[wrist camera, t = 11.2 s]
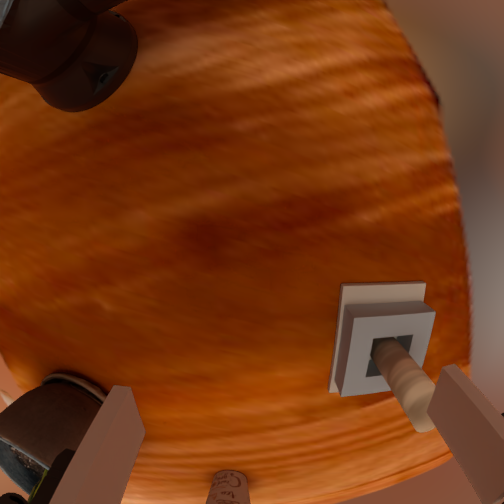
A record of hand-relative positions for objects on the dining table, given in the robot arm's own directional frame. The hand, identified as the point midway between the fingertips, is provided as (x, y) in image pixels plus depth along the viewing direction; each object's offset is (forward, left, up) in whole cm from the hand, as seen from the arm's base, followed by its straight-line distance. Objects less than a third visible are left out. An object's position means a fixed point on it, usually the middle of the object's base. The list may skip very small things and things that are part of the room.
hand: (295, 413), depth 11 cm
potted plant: (+28, -30, -25) cm, 48 cm away
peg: (+11, +15, -24) cm, 30 cm away
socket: (+11, +15, -25) cm, 31 cm away
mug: (+44, -6, -25) cm, 51 cm away
